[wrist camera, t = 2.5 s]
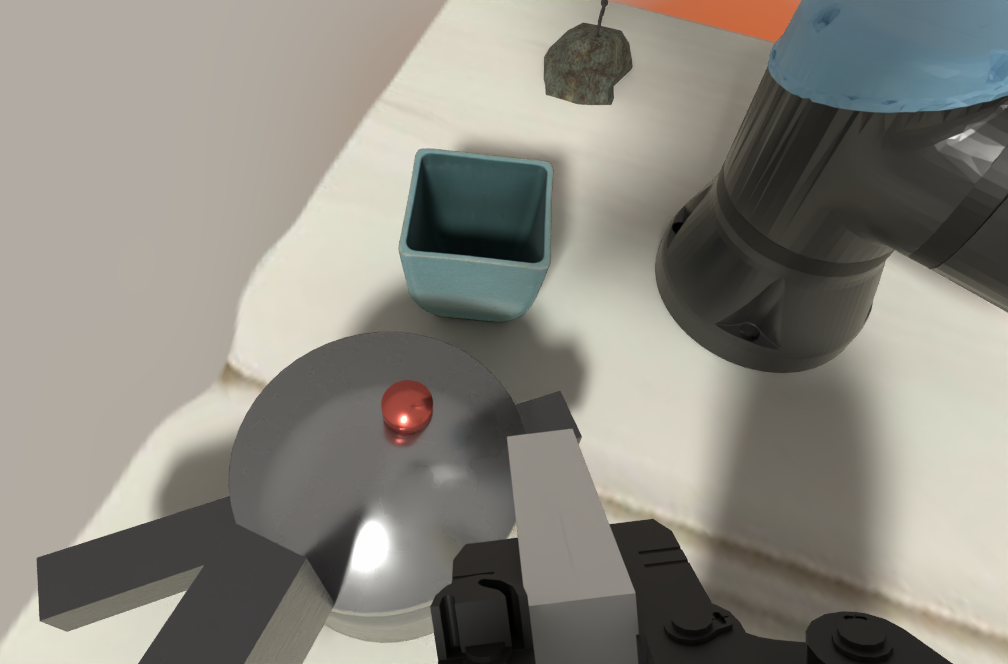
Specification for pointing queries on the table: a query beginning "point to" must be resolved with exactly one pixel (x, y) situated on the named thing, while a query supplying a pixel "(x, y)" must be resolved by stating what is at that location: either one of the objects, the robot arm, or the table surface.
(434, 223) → the flower pot
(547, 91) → the sword in stone
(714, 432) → the table surface
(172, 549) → the pot
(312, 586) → the lid
